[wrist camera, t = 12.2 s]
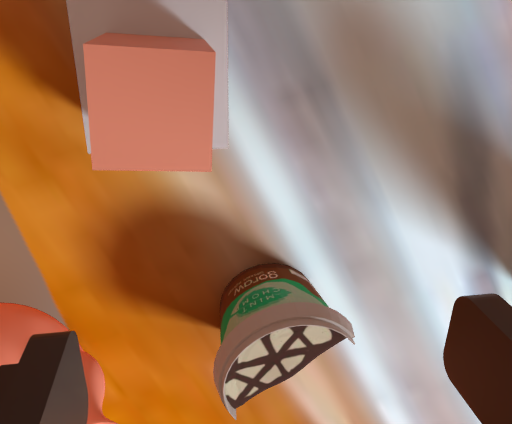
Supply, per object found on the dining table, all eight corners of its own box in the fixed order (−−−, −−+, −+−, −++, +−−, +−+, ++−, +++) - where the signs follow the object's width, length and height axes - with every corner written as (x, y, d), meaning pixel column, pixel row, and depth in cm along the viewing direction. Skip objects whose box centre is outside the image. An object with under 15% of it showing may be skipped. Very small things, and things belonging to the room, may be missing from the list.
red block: (203, 39, 24) (215, 52, 18) (201, 131, 26) (211, 171, 20) (106, 32, 23) (82, 43, 17) (111, 128, 25) (92, 169, 19)
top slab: (217, 0, 28) (227, 0, 24) (220, 127, 32) (228, 148, 27) (82, -3, 27) (65, -3, 22) (99, 131, 30) (88, 153, 26)
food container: (288, 226, 41) (322, 288, 32) (321, 271, 44) (360, 340, 35) (179, 300, 43) (182, 380, 34) (217, 340, 45) (230, 423, 36)
